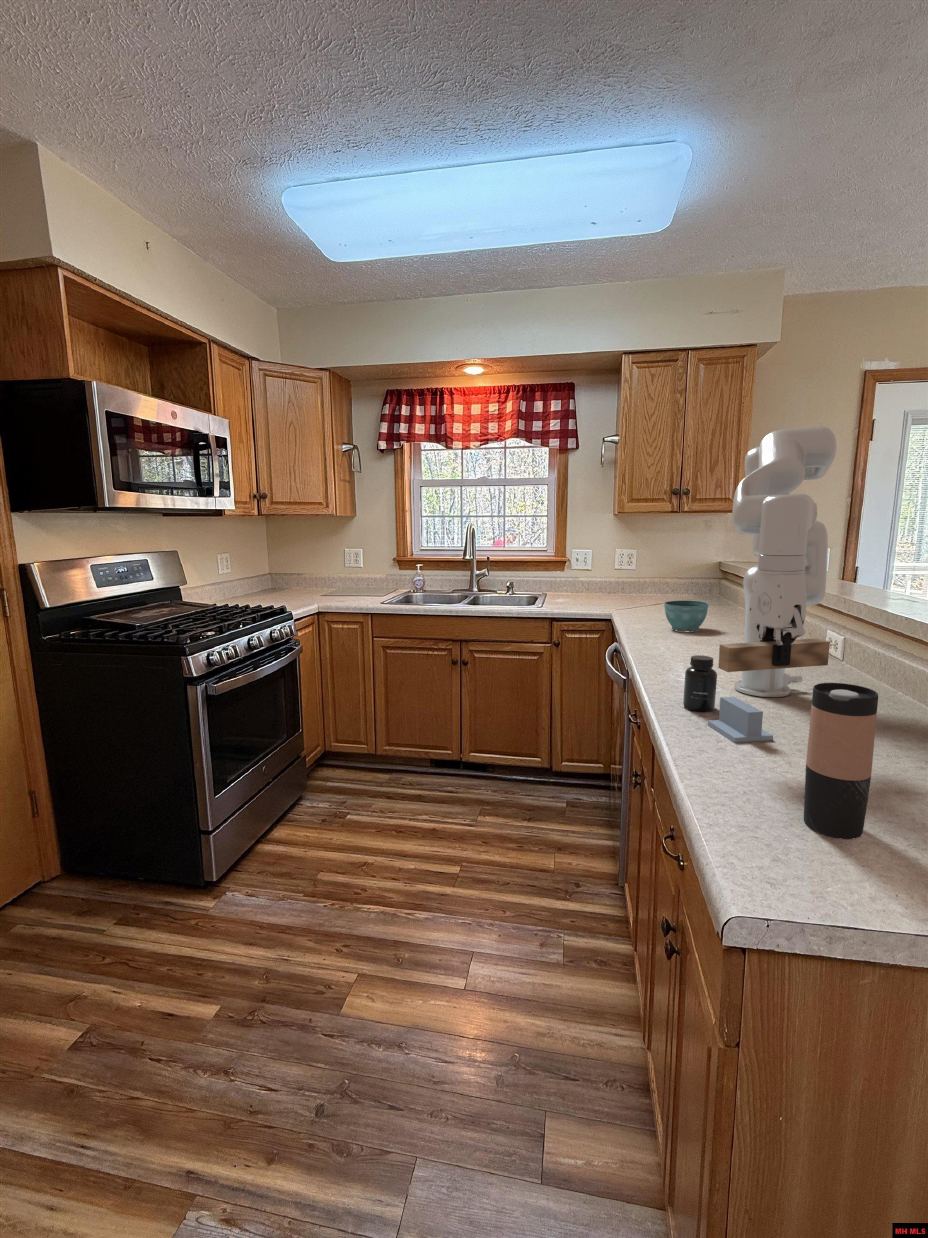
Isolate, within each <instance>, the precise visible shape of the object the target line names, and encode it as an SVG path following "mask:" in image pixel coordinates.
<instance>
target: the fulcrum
mask: <svg viewBox="0 0 928 1238" xmlns="http://www.w3.org/2000/svg"><path fill="white" fill-rule="evenodd" d="M718 715H719V716H718V719H713V720H711V719H710V720H707V726H708V727H710V728H712V730H714V731H716V732H717V733H719V734H720V735H722V736H723V737H724V738H727V739H728V740H730V741H731V742H733V743H735V744H736V743H749V742H750V743H752V742H763V741H764V742H765V741H766V742H767V741H773V740H774V734H772V733H770V732H768V731H766V730H764V729H763V715H764V711H762V710H760V709H758V708H756V707H754V706H753V705H750V704H749V703H747V702H745V701H744V700H741V699H739V698H738V697H736V696H721V697H720V698H719V713H718Z"/></svg>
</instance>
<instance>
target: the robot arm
mask: <svg viewBox="0 0 928 1238" xmlns="http://www.w3.org/2000/svg"><path fill="white" fill-rule="evenodd" d="M837 446H838V444H837V438H836V434H834V431H833V430H832V429H831V428H829V427H827V426H808V427H807V426H806V427H793V428H782V429H778V430H773V431H772V432H770V433H768V434H767V435H765V436H764V438H762V440H761V442H760V444H759V446H757V447H754V448H751V449H750V450H749V451H748V452H747V453H746V455H745V457H744V458H745V459H744V474H745V477H744V478H743V479H741V481H740V482H739V484H738V485H737V487H736V489H735V490H734V491H735V492H734V496H733V501H732V511H731V512H732V515H731V516H732V517H731V519H732V526H733V528H734V530H735V531H736V532H737V533H739V534H740V535H741V534H742V535H748V536H750V535H752V537H751V538H752V539H751V546H752V547H751V548H752V553H753V555H754V556H755V557H756V558H758V561H757V565H755V566H753V567H750V568H749V569H748V570H746V571H745V573H744V576H743V581H742V582H743V583H742V584H743V587H742V588H743V596H744V611H745V612H744V629H743V630H744V633H743V643H752V642H768V641H776V644H774V645H773V659H772V665H773V666H787V665H790V657H791V645H793V644H794V641H795V640H798V638H800V637H801V636H802V637H803V636H804V635H805V634H806V631H805V628H804V626H805V622H806V615H807V606H816V605H819V604H821V603H822V602H823V599H824V598H825V593H826V588H827V587H826V586H827V574H828V573H827V568H828V547H829V545H828V543H829V537H828V529H827V528H826V525H825V524H824V523H823V522H821V521H819V520H817V517H818V505H817V502H815V501H814V499H813V497H812V496H811V495H808V494H806V493H805V494H802V493H792V492H793V491H795V490H797V488H798V487H800V486H801V484H802V483H803V481H811V480H819V479H821V478H824V477H825V476H826V474H827V472H828V471H829V469H830V467H831V466H832V464H833V462H834V460H835V457H836V454H837ZM785 671H786V668H780V669H766V670H752V671H741V679H740V680H737V681H735V682H734V684H733V687H734V689H735V690H736V691H737V692H740V693H743V694H745V695H750V696H755V697H760V698H761V697H762V698H782V697H787V696H789V695H790V694H791V688H790V687H789V685H791V684H801V683H803V676H802V675H801V674H797V675H791V674H790V673H785Z"/></svg>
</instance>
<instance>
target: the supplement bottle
mask: <svg viewBox="0 0 928 1238" xmlns="http://www.w3.org/2000/svg"><path fill="white" fill-rule="evenodd" d="M689 665H690V666H689V667H688V668H686V670H685V673H684V684H683V699H682V700H683V702H682V705H683V707H684V708H685V709H686V710H689V711H693V712H699V713H708V712H712V711H714V710H715V707H716V695H717V681H718V673H717V672H716V670H715V669H713V668H714V657H711V656H708V655H696V654H695V655H692V656H691V657H690V662H689Z"/></svg>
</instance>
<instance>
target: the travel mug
mask: <svg viewBox="0 0 928 1238" xmlns="http://www.w3.org/2000/svg"><path fill="white" fill-rule="evenodd" d="M878 704H879V694H878V692H877V691H876V690H874V689H871V688H868V687H865V686H862V685H858V684H857V685H856V684H852V683H842V682H821V683H817V684H814V685H813V688H812V699H811V707H810V708H811V709H810V719H809V726H808V727H809V729H808V737H807V739H808V740H807V748H806V749H807V750H806V751H807V752H806V761H805V777H804V778H805V780H804V781H805V782H804V797H803V798H804V799H803V800H804V801H803V822H804V824H805V825H806V826H807V828H809V829H811V830H812V831H814V832H816V833H818V832H819V833H818V834H820V833H821V834H820V835H823V834H824V835H823V836H826V837H829V836H830V837H829V838H833V837H834V839H838V838H842V839H841V840H853V839H852V838H855V839H859V838H860V837H862V835H863V832H864V827H865V822H866V821H865V820H866V816H867V815H866V814H867V806H868V801H869V794H870V787H871V786H870V785H871V780H872V772H873V759H874V748H875V740H876V739H875V737H876V727H877V716H878V715H877V714H878Z"/></svg>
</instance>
